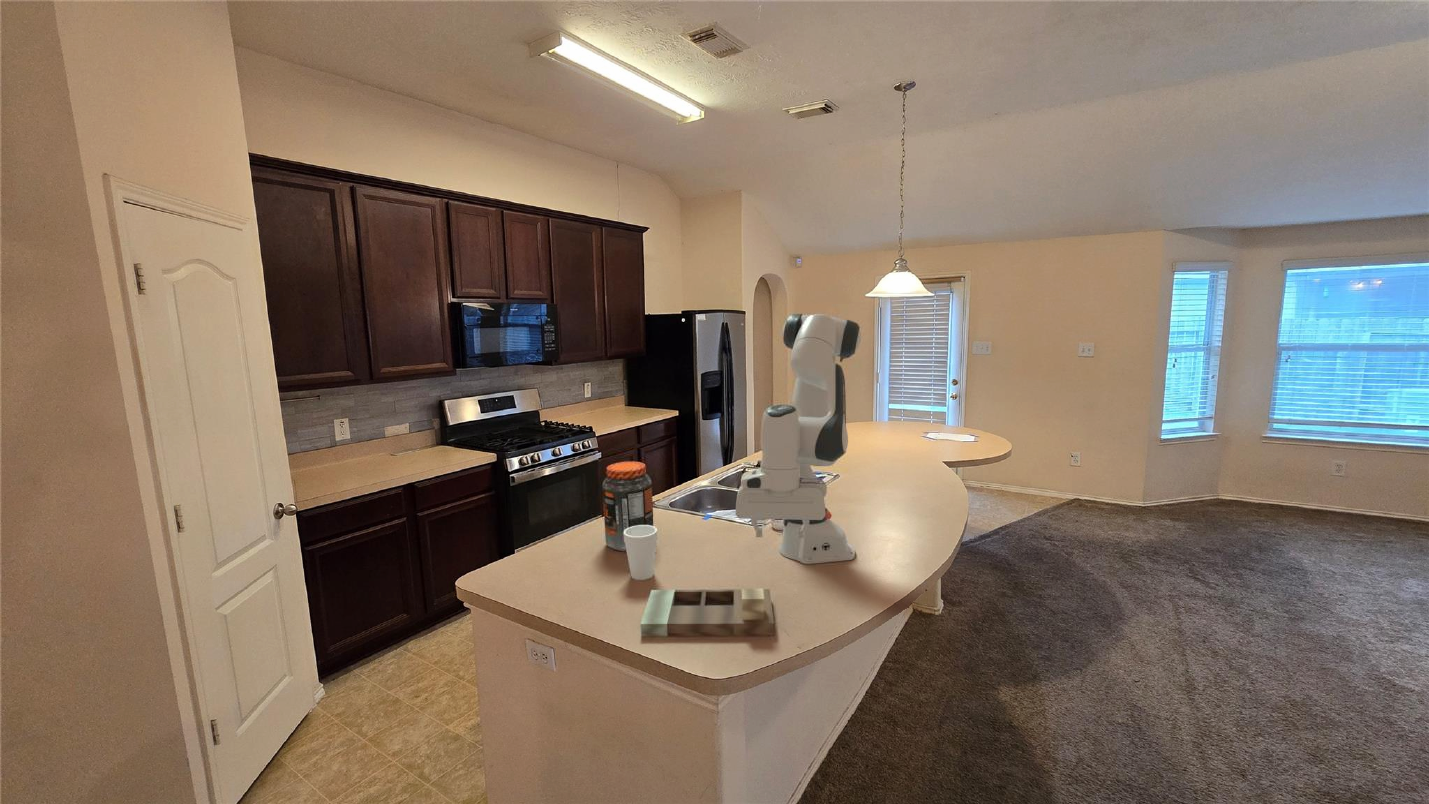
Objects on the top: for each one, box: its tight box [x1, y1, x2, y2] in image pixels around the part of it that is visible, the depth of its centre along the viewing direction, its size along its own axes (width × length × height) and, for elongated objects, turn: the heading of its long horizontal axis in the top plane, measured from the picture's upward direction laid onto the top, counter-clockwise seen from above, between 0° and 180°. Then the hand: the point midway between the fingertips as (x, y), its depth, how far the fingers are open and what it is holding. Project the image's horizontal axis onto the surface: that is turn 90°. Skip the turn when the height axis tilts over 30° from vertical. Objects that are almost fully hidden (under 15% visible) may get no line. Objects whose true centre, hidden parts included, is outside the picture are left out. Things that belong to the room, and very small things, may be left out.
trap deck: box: [640, 588, 775, 637], centre depth 130 cm, size 30×16×3 cm, turn 88°
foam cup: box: [624, 525, 658, 581], centre depth 153 cm, size 10×9×13 cm
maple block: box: [741, 587, 765, 620], centre depth 126 cm, size 5×5×5 cm
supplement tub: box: [601, 461, 654, 552], centre depth 176 cm, size 16×16×26 cm
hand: (779, 536), depth 124 cm, fingers open, 8 cm apart
